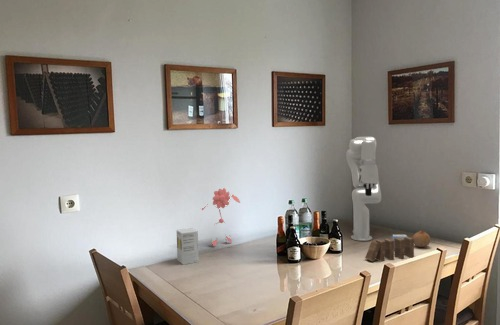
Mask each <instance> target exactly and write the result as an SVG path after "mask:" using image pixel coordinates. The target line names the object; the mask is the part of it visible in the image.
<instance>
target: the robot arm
mask: <svg viewBox="0 0 500 325" xmlns="http://www.w3.org/2000/svg"><path fill="white" fill-rule="evenodd" d="M377 143H378V142H377V139H376V138H375V137H374V136H357V137H355V138H352V139H350V141H349V147H348V148H349V149H347V151H346V153H345V154H346V155H345V156H346V157H345V158H346V162H347V165H348V168H349V169H350V171H351V179H352V186H353V187H354V189H353V190H352V192H351V198H352V208H353V209H352V211H353V212H352V213H353V230H352V231H351V232H352V233H353V234H352V235H351V236H350V239H351V240H354V241H359V242H360V241H361V242H366V241H372V240H373V237H372V235H370V209H369V208H368V207H367V206H366V204H368V205H369V204H379V203H380V202H381V201H382V191H381V186H380V180H379V179H380V178H379V176H380V175H379V169H378V165H377V164H376V151H377V145H378V144H377Z"/></svg>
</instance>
